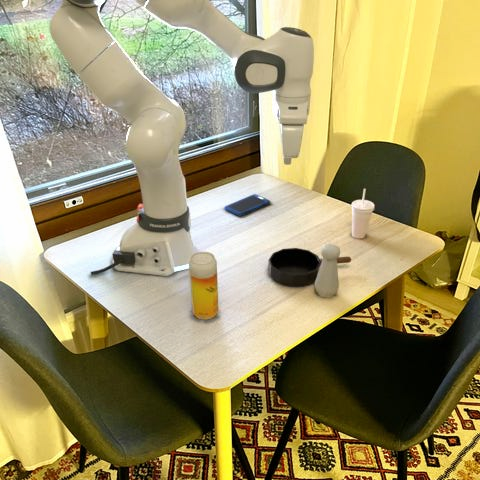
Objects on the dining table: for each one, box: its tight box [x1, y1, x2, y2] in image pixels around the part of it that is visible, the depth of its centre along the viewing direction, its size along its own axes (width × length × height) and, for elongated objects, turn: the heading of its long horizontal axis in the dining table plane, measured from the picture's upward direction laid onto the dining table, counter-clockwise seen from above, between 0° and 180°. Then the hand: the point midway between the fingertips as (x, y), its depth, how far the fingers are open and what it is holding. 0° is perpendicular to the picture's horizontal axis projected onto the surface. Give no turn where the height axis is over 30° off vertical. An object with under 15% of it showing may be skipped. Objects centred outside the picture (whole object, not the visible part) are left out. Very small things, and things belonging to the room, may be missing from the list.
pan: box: [267, 247, 352, 288], centre depth 134 cm, size 21×13×4 cm, turn 98°
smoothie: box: [350, 188, 376, 239], centre depth 145 cm, size 6×6×14 cm
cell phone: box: [224, 193, 271, 217], centre depth 165 cm, size 7×14×1 cm, turn 134°
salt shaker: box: [314, 243, 341, 299], centre depth 123 cm, size 6×6×13 cm
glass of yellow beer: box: [188, 251, 220, 321], centre depth 116 cm, size 6×6×15 cm
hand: (287, 162), depth 132 cm, fingers closed
